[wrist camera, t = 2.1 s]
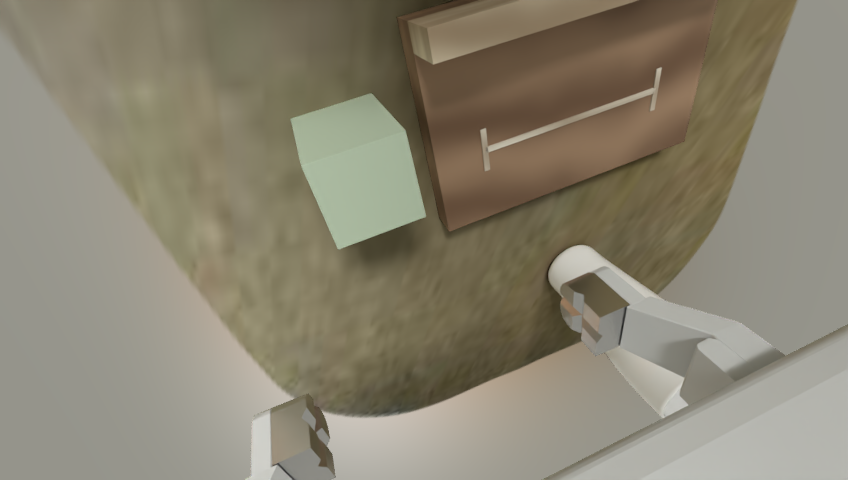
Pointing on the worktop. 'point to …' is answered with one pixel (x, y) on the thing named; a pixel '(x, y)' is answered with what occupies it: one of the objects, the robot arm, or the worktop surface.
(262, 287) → the worktop surface
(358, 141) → the block
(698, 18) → the walnut board
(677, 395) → the drinking glass
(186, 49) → the worktop surface
